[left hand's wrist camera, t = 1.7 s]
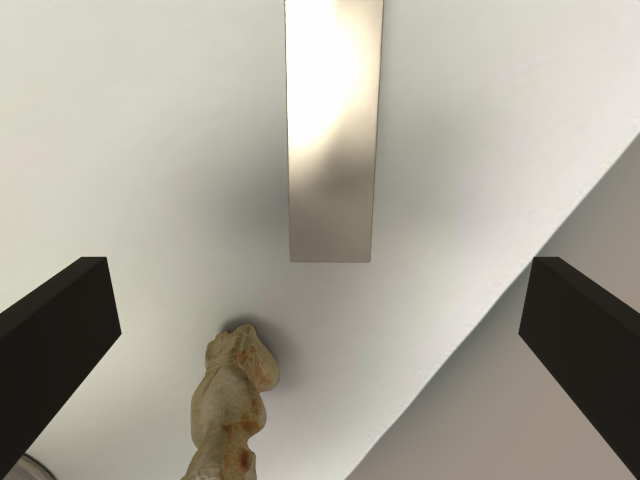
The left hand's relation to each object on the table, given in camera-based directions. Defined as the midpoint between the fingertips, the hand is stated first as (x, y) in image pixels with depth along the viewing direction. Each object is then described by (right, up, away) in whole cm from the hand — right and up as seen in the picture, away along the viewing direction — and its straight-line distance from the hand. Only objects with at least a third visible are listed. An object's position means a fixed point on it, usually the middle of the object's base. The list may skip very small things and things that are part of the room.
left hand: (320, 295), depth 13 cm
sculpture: (-7, -8, +25) cm, 28 cm away
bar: (+1, +15, +17) cm, 22 cm away
